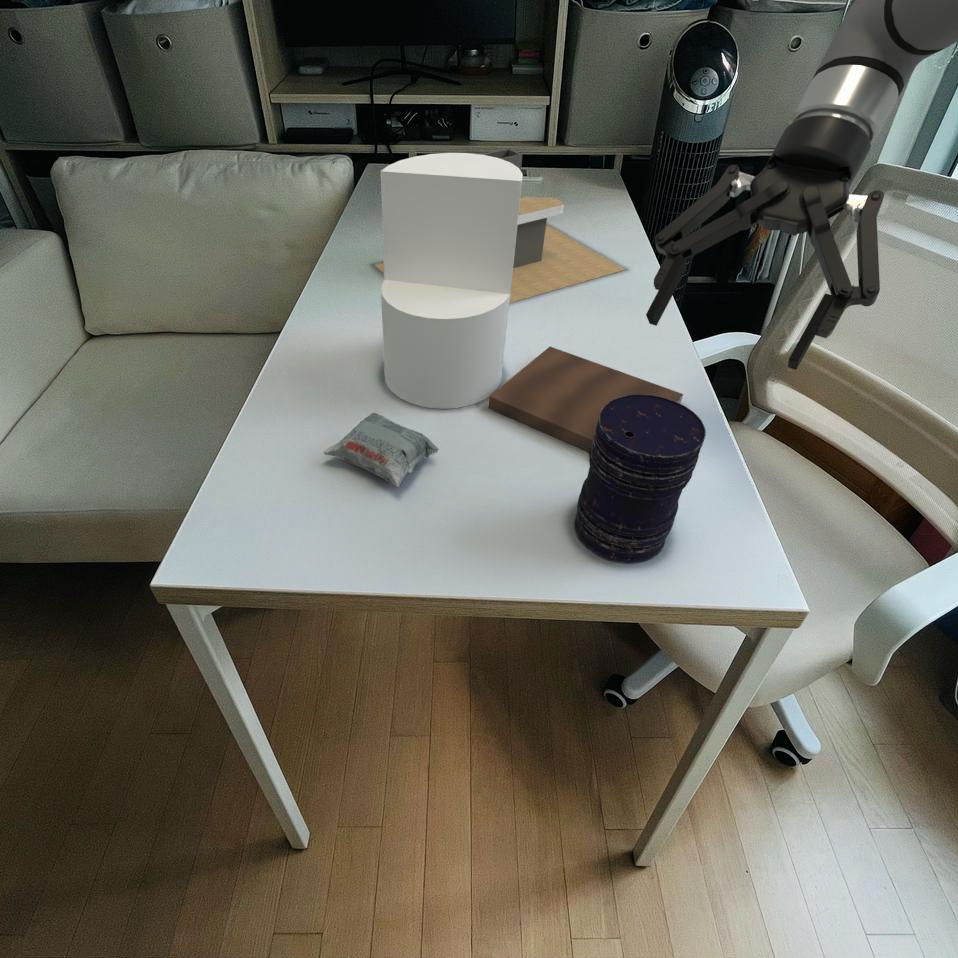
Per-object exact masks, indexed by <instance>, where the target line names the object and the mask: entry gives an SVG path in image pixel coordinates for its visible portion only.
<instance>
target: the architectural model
mask: <svg viewBox="0 0 958 958" xmlns="http://www.w3.org/2000/svg"><path fill="white" fill-rule="evenodd" d="M479 154H480V155H486V156H491V157H496V158H499V159H502V160H505V161H508V162H510V163H512V164H513V165H515V166H516V167H518V168H519V169H520V171H521V172H522V166H523V165H522V163H523V154H522V153H521V152H519V151H515V150H513V149H511V148H505V149H498V150H493V151H490V152H485V153H479ZM564 206H565V203H564V202H563V201H561V200H559V199H558V198H555V197H540V196H539V197H536V196H535V197H533V196H530V197H529V196H520V206H519V215H518V225H517V235H516V244H515V254H514V263H513V273H512V282H511V292H510V301H509V304H511V303H514V302H517V301H521V300H525V299H528V298H531V297H535V296H539V295H542V294H545V293H550V292H552V291H556V290H560V289H563V288H567V287H570V286H574V285H577V284H580V283H585V282H587V281H591V280H595V279H598V278H602V277H605V276H609V275H613V274H615V273H616V274H617V273H619V272H622V271H626V268H624V267H622V266H620V265H618V264H617V263H614V262H613V261H611V260H609V259H608V258H607V257H604V256H602V254H600V253H597V252H596V251H594V250H592V249H590V248H589V247H587V246H585V245H583V244H582V243H580V242H578V241H576V240H574V239H572V238H571V237H569V236H567V235H565V234H564V233H562V232H560V231H559V230H557V229H555V228H554V227H551V226H549V225H548V224H547V223H548V222H547V221H548V218H551V217H552V218H553V217H556V216H559V215H563V214H564ZM374 266H375V267H376V268H377V269H378V270H379V271H380V272H381V273H382V274H384V261H383V262H379V263H376V264H374Z"/></svg>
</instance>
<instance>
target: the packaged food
mask: <svg viewBox="0 0 958 958" xmlns="http://www.w3.org/2000/svg"><path fill="white" fill-rule="evenodd" d="M439 450H440V449H439V447H438V446H436V444H434V442H432V441H431V440H430V439H429V438H428V437H427V436H426V435H424V434H423V433H421V432H418V431H416V430H414V429H411V428H407V427H405V426H403V425H401V424H399V423H396V422H395V421H392V420H390V419H389V418H386V417H385V416H383V415H380V414H378V413H376V412H371V413H370V414H369V415H367V416H366V417H365V418H364V419H362V420H361V421H360V422H359V423H357V425H356V426H355V427H354V428H352V429H351V430H350V431H349V432H348V433H347V434H346V435H345V436H344V437H343V438H342V439H341V440H340V441H339V442H337V443H335V444H333V445H331V446H329V447H327V448H326V449H324V451H323V454H324V455H326V456H330V457H332V458H333V457H335V458H339V459H340V460H341V461H343V462H346V463H348V464H350V465H354V466H357V467H360V468H362V469H364V470H366V471H369V473H370V472H371V473H372V474H373V475H376V476H377V477H380V478H381V479H383V480H384V481H387V482H388V483H390V484H391V485H394V486H395V487H397V488H399V487H400V485H401V484H402V481H403V480H404V478H405V476H406V475H407V474H408V473H413V472H414V468H415V467H417V466H418V465H419V463H420V462H421V461H423V460H425V458H429V457H430V456H432V455H434V454H436V453H438V451H439Z"/></svg>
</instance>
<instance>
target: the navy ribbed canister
mask: <svg viewBox="0 0 958 958" xmlns="http://www.w3.org/2000/svg"><path fill="white" fill-rule="evenodd" d="M706 436H707V433H706V427H705V423H704V422H703V421H702V419H701V418H700V417H699V416H698V414H697V413H695V412H694V411H693V410H691V408H689V407H687V406H686V405H684V404H681V403H678V402H675V401H673V400H670V399H667V398H663V397H659V396H653V395H627V396H623V397H619V398H616V399H614V400H612V401H610V402H609V403H607V404H606V405H605V406H604V407H603V408H602V410H601V412H600V415H599V419H598V424H597V428H596V431H595V433H594V436H593V440H592V445H591V449H590V452H588V453H589V455H588V463H589V464H588V465H589V467H588V472H587V475H586V478H585V479H584V481H583V483H582V486H581V489H580V493H579V496H578V498H577V499H578V500H577V503H576V504H577V505H576V514H575V518H574V522H573V526H574V532H575V535H576V536H577V538H578V539H579V540H578V541H580V543H581V544H582V545H583V546H584V547H585V548H586V549H587V550H588V551H589V552H591V553H592V554H594V555H596V556H597V557H600V558H602V559H605V560H607V561H609V562H610V561H611V562H614V563H619V564H640V563H644V562H647V561H649V560H652V559H654V558H655V557H657V556H658V555H659V554H660V553H661V551H662V550H663V549H664V547H665V545H666V540H667V538H668V536H669V534H670V533H671V531H672V529H673V526H674V523H675V520H676V516H677V513H678V510H679V501H680V498H681V496H682V493H683V490H684V489H685V488H686V486H688V483H689V482H690V481H691V479H692V476H693V473H694V471H695V468H696V466H697V463H698V460H699V457H700V452H701V450H702V447H703V445H704V442H705V439H706Z"/></svg>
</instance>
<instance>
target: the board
mask: <svg viewBox="0 0 958 958" xmlns="http://www.w3.org/2000/svg"><path fill="white" fill-rule="evenodd" d="M627 395H653V396H659V397H663V398H667V399H670V400H673V401H675V402H678V403H680V404H681V402H682V400H683V397H684V393H682V392H679V391H676V390H673V389H670V388H668V387H666V386H661V385H659V384H658V383H657V384H656V383H654V382H650V381H649V380H645V379H643V378H640V377H636V376H634V375H632V374H628V373H626V372H622V371H620V370H618V369H614V368H611V367H609V366H606V365H604V364H601V363H597V362H595V361H593V360H589V359H586V358H585V357H584V358H583V357H581V356H578V355H576V354H572V353H570V352H567V351H564V350H561V349H559V348H556V347H553V346H548V347H547V348H546V349H545V350H544V351H542V352H541V353H540V354H539V355H538V356H537V357H535V358H534V359H533V360H531V361H530V362H529V363H528V364H527V365H526V366H524V367H523V368H522V369H520V370H519V371H518V372H517V373H516V374H514V375H513V376H512V377H511V378H510V379H508V380H507V381H506V382H505V383H503V385H501V386H500V387H498V388H497V390H496V391H495V392H494V393H493V394H491V395H490V396H489V397H488V407H487V408H488V409H490V410H492V411H494V412H496V413H498V414H501V415H503V416H505V417H509V418H510V419H512V420H515V421H517V422H519V423H522V424H524V425H526V426H528V427H531V428H533V429H536V430H538V431H540V432H542V433H545V434H547V435H549V436H552V437H554V438H556V439H559V440H561V441H563V442H566V443H568V444H570V445H572V446H575V447H577V448H579V449H581V450H584V451H586V452H588V453H590V449H591V445H592V440H593V436H594V433H595V431H596V428H597V424H598V419H599V415H600V412H601V410H602V408H603V407H604V406H605V405H606V404H607V403H609V402H610V401H612V400H614V399H616V398H619V397H623V396H627Z"/></svg>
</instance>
